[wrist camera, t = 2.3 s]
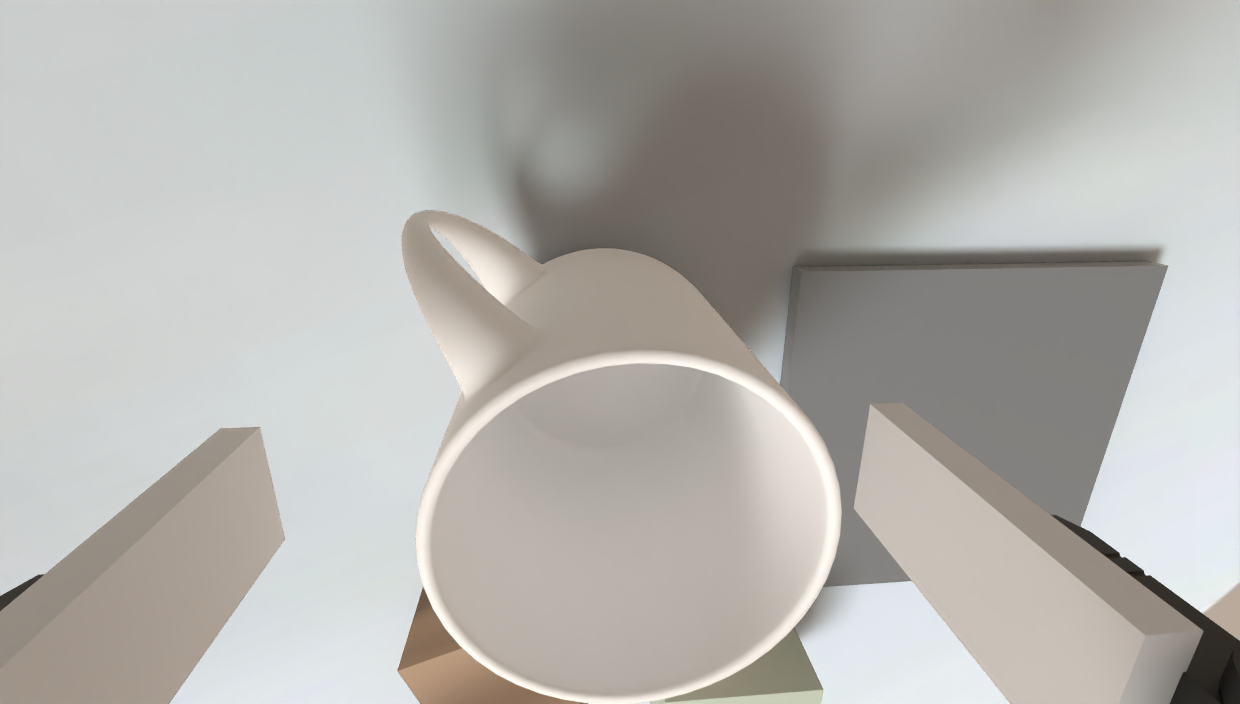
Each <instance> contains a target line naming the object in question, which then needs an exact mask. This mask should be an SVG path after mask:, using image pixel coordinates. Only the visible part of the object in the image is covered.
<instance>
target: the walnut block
mask: <svg viewBox="0 0 1240 704" xmlns="http://www.w3.org/2000/svg"><path fill="white" fill-rule="evenodd" d="M398 672H399V674H400V675H401V677H402V678H403V680H404V681H405V682H406V684H407V685H408V687H409V688H410V690H411V691H412V692H413V694H414V695H415V697H416V698H417V700H418V701H419V702H420V704H588V703H583V702H576V701H570V700H563V699H559V698H555V697H551V696H548V695H544V694H540V693H537V692H535V691H532V690H529V689H527V688H524V687H521V686H519V685H516V684H514V683H513V682H511V681H509V680H507V679H505V678H503V677H501V676H499V675H497V674H495V673H494V672H492V671H491V670H489V669H488V668H487V667H485V666H484V665H482V664H481V663H479V662H478V661H476V660H475V659H474V658H473V657H472V656H471V655H470V654H469V653H467V652H466V651H465V650H464V649H463V648H462V647H461V646H460V645H459V644H458V643H457V642H456V641H455V639H454V638H453V637H452V636H451V635H450V634H449V632H448V631H447V630H446V629H445V627H444V626H443V624H442V623H441V621H440V619H439V618H438V616H437V615H436V613H435V611H434V610H433V608H432V606H431V603H430V601H429V599H428V596H427V594H426V592H425V589H424V587H423V589H422V592H421V596H420V599H419V602H418V606H417V609H416V612H415V615H414V619H413V622H412V625H411V628H410V632H409V635H408V638H407V641H406V645H405V648H404V651H403V654H402V658H401V661H400V664H399V668H398Z"/></svg>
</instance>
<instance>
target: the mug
mask: <svg viewBox="0 0 1240 704" xmlns="http://www.w3.org/2000/svg"><path fill="white" fill-rule="evenodd" d="M430 228H431V229H434V230H435V231H437V232H438V233H440V234H441V235H443V236H444V237H445V238H446V239H447V240H448V241H449V242H450V243H451V244H452V245H453V246H454V247H455V248H456V249H457V250H458V251H459V252H460V254H461V255H462V256H463V257H464V258H465V259H466V261H467V262H468V263H469V265H470V266H471V267H472V269H473V270H474V272H475V273H476V275H477V276H478V278H479V279H480V281H481V282H482V284H483V286H484V287H485V288H484V287H483V286H482V285H480V284H479V283H478V282H477V281H476V280H475V279H474V278H473V277H472V276H471V275H470V274H469V273H468V272H467V271H466V270H465V269H464V268H463V267H462V266H461V265H460V264H459V263H458V262H457V261H456V260H455V259H454V258H453V257H452V256H451V255H450V254H449V253H448V252H447V251H446V249H445V248H444V247H443V246H442V245H441V244H440V242H439V241H438V240H437V239H436V237H435V236H434V235H433V233H432V231H431V230H430ZM402 254H403V259H404V264H405V269H406V273H407V275H408V278H409V281H410V284H411V286H412V289H413V292H414V294H415V296H416V299H417V301H418V303H419V306H420V308H421V310H422V313H423V315H424V317H425V319H426V321H427V323H428V325H429V327H430V329H431V331H432V333H433V335H434V337H435V339H436V341H437V343H438V345H439V346H440V348H441V350H442V352H443V354H444V356H445V358H446V359H447V361H448V363H449V365H450V367H451V369H452V371H453V372H454V374H455V376H456V378H457V380H458V382H459V385H460V387H461V389H462V391H461V394H460V397H459V399H458V402H457V405H456V407H455V410H454V413H453V415H452V418H451V420H450V423H449V425H448V428H447V430H446V433H445V435H444V438H443V440H442V443H441V446H440V448H439V451H438V454H437V456H436V459H435V462H434V464H433V467H432V469H431V472H430V474H429V477H428V479H427V482H426V484H425V487H424V489H423V493H422V497H421V501H420V505H419V509H418V513H417V524H416V537H415V540H416V553H417V563H418V567H419V571H420V575H421V579H422V583H423V587H424V589H425V592H426V594H427V596H428V599H429V601H430V603H431V606H432V608H433V610H434V611H435V613H436V615H437V616H438V618H439V619H440V621H441V623H442V624H443V626H444V627H445V629H446V630H447V631H448V632H449V634H450V635H451V636H452V637H453V638H454V639H455V641H456V642H457V643H458V644H459V645H460V646H461V647H462V648H463V649H464V650H465V651H466V652H467V653H469V654H470V655H471V656H472V657H473V658H474V659H475V660H476V661H478V662H479V663H481V664H482V665H484V666H485V667H487V668H488V669H489V670H491V671H492V672H494V673H495V674H497V675H499V676H501V677H503V678H505V679H507V680H509V681H511V682H513V683H514V684H516V685H519V686H521V687H524V688H527V689H529V690H532V691H535V692H537V693H540V694H544V695H548V696H551V697H555V698H559V699H563V700H570V701H576V702H583V703H595V704H630V703H641V702H648V701H655V700H662V699H666V698H670V697H674V696H678V695H682V694H686V693H689V692H692V691H695V690H697V689H700V688H703V687H706V686H709V685H711V684H713V683H715V682H718V681H720V680H722V679H724V678H726V677H729V676H731V675H732V674H734V673H736V672H738V671H739V670H741V669H743V668H745V667H746V666H748V665H750V664H751V663H753V662H754V661H755V660H757V659H758V658H760V657H761V656H762V655H764V654H765V653H767V652H768V651H769V650H771V649H772V648H773V647H774V646H775V645H776V644H777V643H778V642H780V641H781V640H782V639H783V638H784V637H785V636H786V635H787V634H788V633H789V632H790V631H791V630H792V629H793V628H794V627H795V626H796V624H797V623H798V622H799V621H800V620H801V619H802V618H803V617H804V615H805V614H806V612H807V611H808V610H809V608H810V607H811V605H812V604H813V602H814V601H815V600H816V598H817V596H818V595H819V593H820V591H821V589H822V587H823V585H824V583H825V581H826V580H827V577H828V575H829V572H830V569H831V567H832V564H833V561H834V559H835V556H836V551H837V547H838V542H839V538H840V530H841V516H842V509H841V497H840V486H839V482H838V478H837V474H836V470H835V466H834V463H833V461H832V458H831V456H830V454H829V451H828V449H827V447H826V444H825V442H824V441H823V439H822V437H821V436H820V434H819V433H818V431H817V429H816V428H815V426H814V425H813V423H812V422H811V420H810V419H809V418H808V417H807V416H806V415H805V414H804V412H803V411H802V410H801V409H800V408H799V407H798V405H797V404H796V403H795V402H794V401H793V400H792V398H791V397H790V396H789V395H788V394H787V393H786V392H785V390H784V389H783V388H782V387H781V386H780V385H779V383H778V382H777V381H776V380H775V379H774V378H773V376H772V375H771V374H770V373H769V372H768V371H767V370H766V368H765V367H764V366H763V365H762V364H761V363H760V361H759V360H758V359H757V358H756V357H755V356H754V355H753V353H752V352H751V351H750V350H749V349H748V348H747V346H746V345H745V344H744V343H743V342H742V341H741V339H740V338H739V337H738V336H737V335H736V334H735V333H734V331H733V330H732V329H731V328H730V327H729V326H728V324H727V323H726V322H725V321H724V320H723V319H722V317H721V316H720V315H719V314H718V313H717V312H716V311H715V309H714V308H713V307H712V306H711V305H710V304H709V302H708V301H707V300H706V299H705V298H704V297H703V296H702V294H701V293H700V292H699V291H698V290H697V289H696V288H695V287H694V286H693V285H692V284H691V283H690V282H689V281H688V280H687V279H685V278H684V277H683V276H682V275H681V274H680V273H678V272H677V271H675V270H674V269H672V268H671V267H669V266H668V265H666V264H664V263H663V262H660V261H658V260H656V259H654V258H652V257H650V256H647V255H643V254H640V253H637V252H634V251H628V250H622V249H612V248H596V249H586V250H580V251H576V252H572V253H568V254H565V255H562V256H560V257H557V258H554V259H552V260H550V261H548V262H546V263H544V264H540V263H539V262H537V261H536V260H534V259H533V258H531V257H530V256H529V255H527V254H526V253H524V252H523V251H522V250H520V249H519V248H517V247H516V246H514V245H513V244H511V243H510V242H508V241H507V240H505V239H504V238H502V237H500V236H499V235H497V234H495V233H493V232H492V231H490V230H488V229H486V228H484V227H482V226H480V225H478V224H476V223H474V222H472V221H469V220H467V219H465V218H462V217H460V216H457V215H454V214H450V213H446V212H442V211H435V210H425V211H421V212H417V213H415V214H413V215H412V216H411V217H410V218H409V219H408V220H407V221H406V223H405V226H404V229H403V232H402Z"/></svg>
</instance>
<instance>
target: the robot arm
mask: <svg viewBox="0 0 1240 704" xmlns="http://www.w3.org/2000/svg"><path fill="white" fill-rule="evenodd" d="M854 509H855V511H856V512H857V513H858V514H859V516H860V517H861V518H862V519H863V521H864V522H865V523H866V524H867V526H868V527H869V528H870V529H871V531H872V532H873V533H874V534H875V536H876V537H877V538H878V539H879V541H880V542H881V543H882V544H883V546H884V547H885V548H886V549H887V551H888V552H889V553H890V554H891V556H892V557H893V558H894V559H895V561H896V562H897V563H898V564H899V566H900V567H901V568H902V569H903V571H904V572H905V573H906V574H907V575H908V577H909V578H910V579H911V580H912V582H913V583H914V584H915V585H916V587H917V588H918V589H919V590H920V592H921V593H922V594H923V595H924V597H925V598H926V599H927V600H928V602H929V603H930V604H931V605H932V607H933V608H934V609H935V610H936V612H937V613H938V614H939V615H940V617H941V618H942V619H943V620H944V622H945V623H946V624H947V625H948V627H949V628H950V629H951V630H952V632H953V633H954V634H955V635H956V637H957V638H958V639H959V640H960V642H961V643H962V644H963V645H964V647H965V648H966V649H967V650H968V652H969V653H970V654H971V655H972V657H973V658H974V659H975V660H976V662H977V663H978V664H979V665H980V667H981V668H982V669H983V670H984V672H985V673H986V674H987V675H988V677H989V678H990V679H991V680H992V681H993V683H994V684H995V685H996V686H997V688H998V689H999V690H1000V691H1001V693H1002V694H1003V695H1004V696H1005V698H1006V699H1007V700H1008V701H1009V703H1010V704H1240V641H1239V640H1238V639H1236V638H1235V637H1234V636H1232V635H1231V634H1229V633H1228V632H1227V631H1225V630H1224V629H1222V628H1221V627H1220V626H1218V625H1217V624H1216V623H1214V622H1213V621H1212V620H1210V619H1209V618H1208V617H1206V616H1205V615H1203V614H1202V613H1201V612H1199V611H1198V610H1197V609H1195V608H1194V607H1193V606H1191V605H1190V604H1188V603H1187V602H1186V601H1184V600H1183V599H1182V598H1180V597H1179V596H1178V595H1176V594H1175V593H1173V592H1172V591H1171V590H1169V589H1168V588H1167V587H1165V586H1164V585H1163V584H1161V583H1160V582H1158V581H1157V580H1156V579H1154V578H1153V577H1152V576H1146V575H1145V574H1144V571H1143V570H1142V569H1141V568H1139V567H1138V566H1137V565H1135V564H1134V563H1132V562H1131V561H1130V560H1128V559H1127V558H1126V557H1124V558H1121V557H1120V553H1119V552H1117V551H1116V550H1115V549H1113V548H1112V547H1111V546H1109V545H1108V544H1107V543H1105V542H1104V541H1102V540H1101V539H1100V538H1098V537H1097V536H1096V535H1094V534H1093V533H1091V532H1090V531H1088V530H1086V529H1084V528H1082V527H1080V526H1078V525H1076V524H1073V523H1071V522H1069V521H1067V520H1065V519H1063V518H1061V517H1059V516H1057V515H1050V514H1049V513H1047V512H1046V511H1045V510H1043V509H1042V508H1041V507H1039V506H1038V505H1037V504H1035V503H1034V502H1033V501H1031V500H1030V499H1029V498H1027V497H1026V496H1025V495H1024V494H1022V493H1021V492H1020V491H1018V490H1017V489H1016V488H1014V487H1013V486H1012V485H1010V484H1009V483H1008V482H1006V481H1005V480H1004V479H1002V478H1001V477H1000V476H998V475H997V474H996V473H994V472H993V471H992V470H991V469H989V468H988V467H987V466H985V465H984V464H983V463H981V462H980V461H979V460H977V459H976V458H975V457H973V456H972V455H971V454H969V453H968V452H967V451H965V450H964V449H963V448H961V447H960V446H959V445H958V444H956V443H955V442H954V441H952V440H951V439H950V438H948V437H947V436H946V435H944V434H943V433H942V432H940V431H939V430H938V429H936V428H935V427H934V426H932V425H931V424H930V423H928V422H927V421H926V420H925V419H923V418H922V417H921V416H919V415H918V414H917V413H915V412H914V411H913V410H911V409H910V408H909V407H907V406H906V405H905V404H903V403H885V404H870V408H869V415H868V421H867V427H866V434H865V440H864V446H863V452H862V459H861V465H860V471H859V477H858V484H857V490H856V496H855V503H854ZM284 540H285V536H284V532H283V528H282V523H281V519H280V514H279V510H278V505H277V501H276V496H275V492H274V488H273V483H272V479H271V474H270V470H269V465H268V461H267V457H266V452H265V448H264V443H263V439H262V434H261V430H260V427H248V428H221V429H219V430H218V431H217V432H216V433H215V434H213V435H212V436H211V437H210V438H209V439H207V440H206V441H205V442H204V443H203V444H201V445H200V446H199V447H198V448H197V449H195V450H194V451H193V452H192V453H190V454H189V455H188V456H187V457H186V458H184V459H183V460H182V461H181V462H180V463H178V464H177V465H176V466H175V467H174V468H172V469H171V470H170V471H169V472H168V473H166V474H165V475H164V476H163V477H162V478H160V479H159V480H158V481H157V482H156V483H154V484H153V485H152V486H151V487H150V488H148V489H147V490H146V491H145V492H143V493H142V494H141V495H140V496H139V497H137V498H136V499H135V500H134V501H133V502H131V503H130V504H129V505H128V506H127V507H125V508H124V509H123V510H122V511H121V512H119V513H118V514H117V515H116V516H115V517H113V518H112V519H111V520H110V521H109V522H107V523H106V524H105V525H104V526H102V527H101V528H100V529H99V530H98V531H96V532H95V533H94V534H93V535H92V536H90V537H89V538H88V539H87V540H86V541H84V542H83V543H82V544H81V545H80V546H78V547H77V548H76V549H75V550H74V551H72V552H71V553H70V554H69V555H68V556H66V557H65V558H64V559H63V560H61V561H60V562H59V563H58V564H57V565H55V566H54V567H53V568H52V569H51V570H49V571H48V572H47V573H46V574H43V575H37V576H35V577H34V578H32V579H30V580H28V581H26V582H25V583H23V584H21V585H19V586H18V587H16V588H14V589H12V590H10V591H9V592H7V593H5V594H3V595H1V596H0V704H169V703H170V702H171V700H172V699H173V697H174V696H175V695H176V693H177V692H178V690H179V689H180V687H181V686H182V685H183V683H184V682H185V680H186V679H187V678H188V676H189V675H190V673H191V672H192V670H193V669H194V668H195V666H196V665H197V663H198V662H199V660H200V659H201V658H202V656H203V655H204V653H205V652H206V651H207V649H208V648H209V646H210V645H211V643H212V642H213V641H214V639H215V638H216V636H217V635H218V634H219V632H220V631H221V629H222V628H223V626H224V625H225V624H226V622H227V621H228V619H229V618H230V616H231V615H232V614H233V612H234V611H235V609H236V608H237V607H238V605H239V604H240V602H241V601H242V599H243V598H244V597H245V595H246V594H247V592H248V591H249V589H250V588H251V587H252V585H253V584H254V582H255V581H256V580H257V578H258V577H259V575H260V574H261V572H262V571H263V570H264V568H265V567H266V565H267V564H268V562H269V561H270V560H271V558H272V557H273V555H274V554H275V553H276V551H277V550H278V548H279V547H280V545H281V544H282V543H283V541H284Z"/></svg>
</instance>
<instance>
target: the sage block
mask: <svg viewBox="0 0 1240 704" xmlns="http://www.w3.org/2000/svg"><path fill="white" fill-rule="evenodd" d="M822 695H823V688H822V686H821V683H820V681H819V679H818V677H817V675H816V673H815V671H814V668H813V666H812V664H811V662H810V660H809V658H808V656H807V654H806V651H805V649H804V647H803V645H802V643H801V641H800V639H799V636H798V634H797V632H796V630H795V628H793V629H792V630H791V631H790V632H789V633H788V634H787V635H786V636H785V637H784V638H783V639H782V640H781V641H780V642H778V643H777V644H776V645H775V646H774V647H773V648H772V649H771V650H769V651H768V652H767V653H765V654H764V655H762V656H761V657H760V658H758V659H757V660H755V661H754V662H753V663H751V664H750V665H748V666H746V667H745V668H743V669H741V670H739V671H738V672H736V673H734V674H732V675H731V676H729V677H726V678H724V679H722V680H720V681H718V682H715V683H713V684H711V685H709V686H706V687H703V688H700V689H697V690H695V691H692V692H689V693H686V694H682V695H678V696H674V697H670V698H666V699H662V700H655V701H650V703H651V704H821V701H822Z"/></svg>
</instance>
